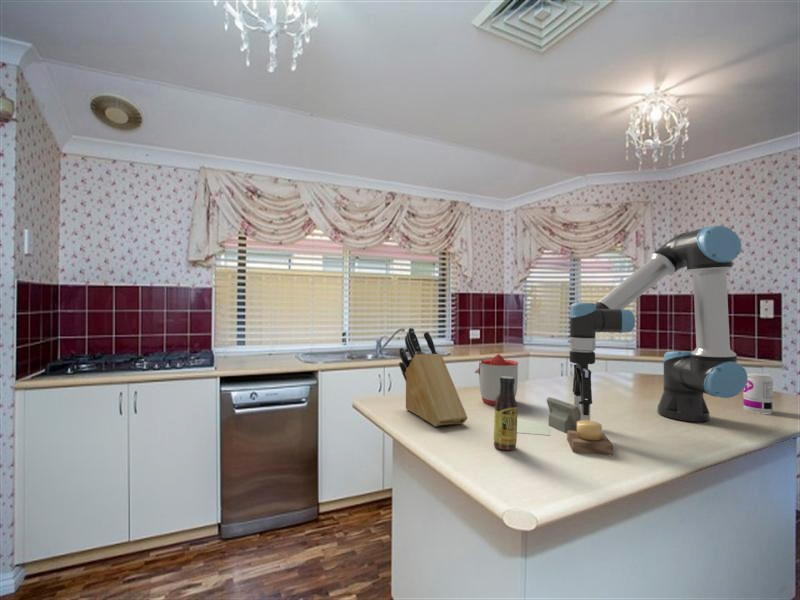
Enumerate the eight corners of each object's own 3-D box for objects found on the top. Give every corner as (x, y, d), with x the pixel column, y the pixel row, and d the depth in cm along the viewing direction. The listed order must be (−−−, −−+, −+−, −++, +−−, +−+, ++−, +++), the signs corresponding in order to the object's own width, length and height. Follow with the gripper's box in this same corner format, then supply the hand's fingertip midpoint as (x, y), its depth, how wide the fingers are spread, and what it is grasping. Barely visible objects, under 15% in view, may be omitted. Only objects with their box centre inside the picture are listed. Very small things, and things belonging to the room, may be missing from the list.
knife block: (421, 401, 164) (421, 326, 164) (468, 426, 132) (469, 332, 132) (395, 404, 160) (396, 326, 160) (438, 430, 127) (439, 333, 127)
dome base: (603, 443, 117) (603, 433, 117) (613, 456, 107) (613, 444, 107) (567, 440, 120) (567, 430, 120) (573, 452, 110) (573, 441, 110)
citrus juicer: (477, 397, 173) (477, 350, 173) (519, 400, 167) (519, 352, 167) (471, 405, 158) (471, 355, 158) (516, 410, 152) (517, 357, 152)
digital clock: (587, 435, 124) (588, 406, 124) (564, 436, 123) (564, 406, 123) (563, 422, 138) (563, 395, 138) (542, 422, 137) (542, 396, 137)
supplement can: (748, 416, 147) (749, 375, 147) (739, 410, 155) (739, 371, 155) (777, 418, 144) (777, 377, 144) (766, 412, 152) (766, 373, 152)
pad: (544, 420, 140) (544, 419, 140) (550, 436, 123) (550, 435, 123) (505, 417, 143) (505, 416, 143) (506, 432, 126) (506, 431, 126)
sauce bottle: (502, 453, 109) (503, 380, 109) (489, 445, 115) (489, 376, 115) (522, 449, 112) (522, 378, 112) (507, 442, 117) (508, 374, 117)
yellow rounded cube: (598, 442, 116) (598, 421, 116) (604, 450, 110) (604, 428, 110) (574, 440, 117) (574, 419, 117) (578, 448, 111) (579, 426, 111)
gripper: (564, 346, 140) (563, 410, 140) (576, 354, 119) (575, 429, 119) (587, 347, 139) (586, 411, 139) (604, 355, 117) (603, 432, 117)
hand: (581, 420), depth 129 cm, fingers open, 10 cm apart
